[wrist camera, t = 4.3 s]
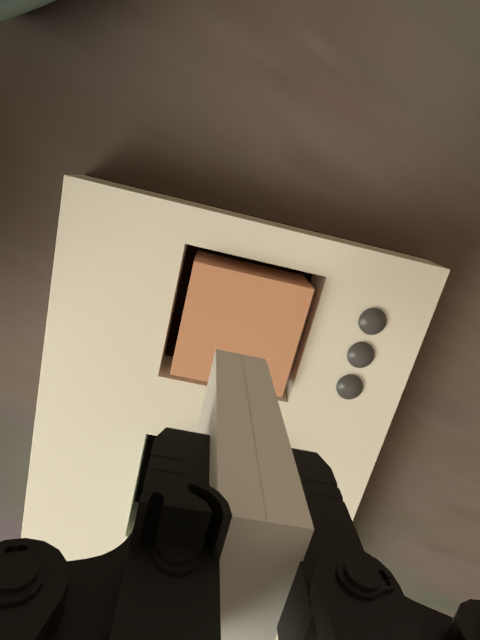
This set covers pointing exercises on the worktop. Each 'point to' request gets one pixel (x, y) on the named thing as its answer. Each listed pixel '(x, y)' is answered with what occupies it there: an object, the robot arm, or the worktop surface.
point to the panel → (188, 394)
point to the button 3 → (240, 316)
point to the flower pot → (19, 7)
